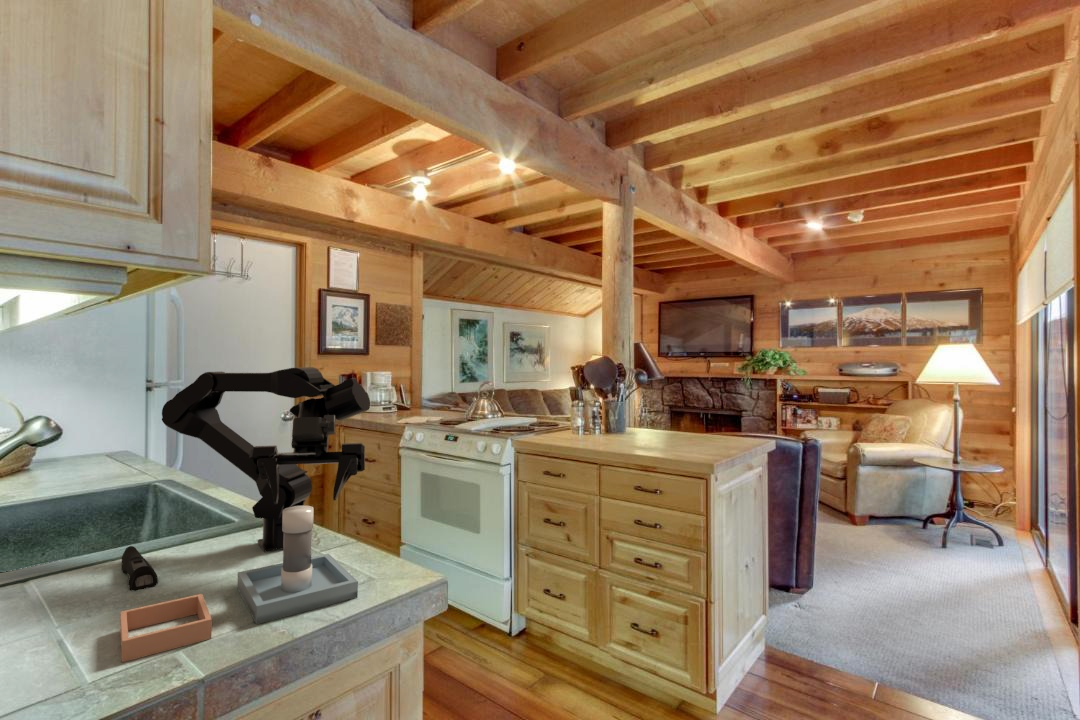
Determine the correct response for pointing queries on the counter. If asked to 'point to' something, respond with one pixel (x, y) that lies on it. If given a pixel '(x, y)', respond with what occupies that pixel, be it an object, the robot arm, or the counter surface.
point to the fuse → (297, 548)
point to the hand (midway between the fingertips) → (305, 501)
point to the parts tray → (273, 603)
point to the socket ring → (168, 636)
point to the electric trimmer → (138, 570)
